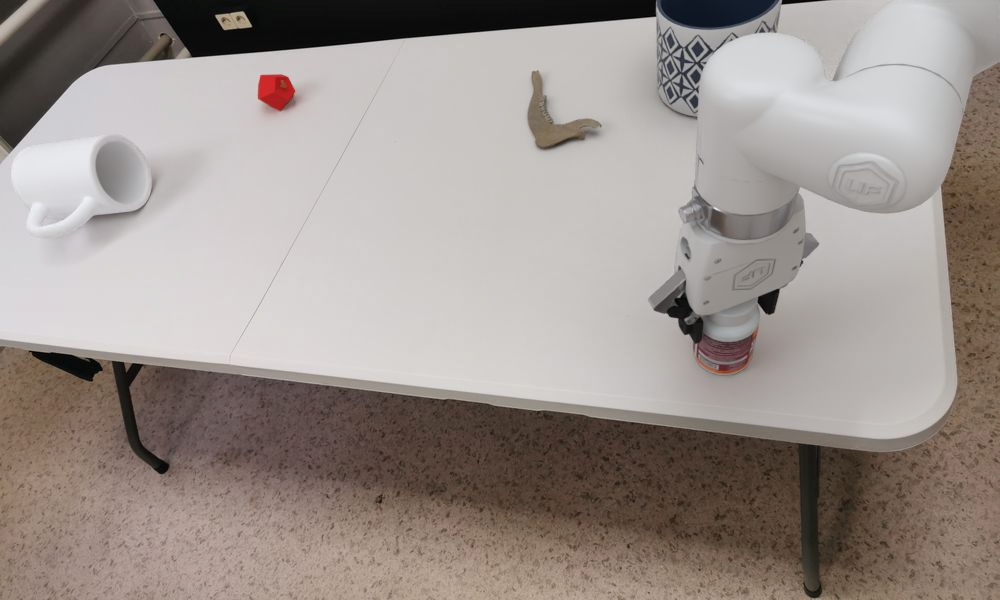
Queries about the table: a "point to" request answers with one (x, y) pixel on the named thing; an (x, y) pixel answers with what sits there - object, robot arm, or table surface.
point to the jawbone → (551, 120)
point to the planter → (702, 40)
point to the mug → (79, 181)
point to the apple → (275, 90)
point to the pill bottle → (728, 338)
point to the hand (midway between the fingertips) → (726, 317)
